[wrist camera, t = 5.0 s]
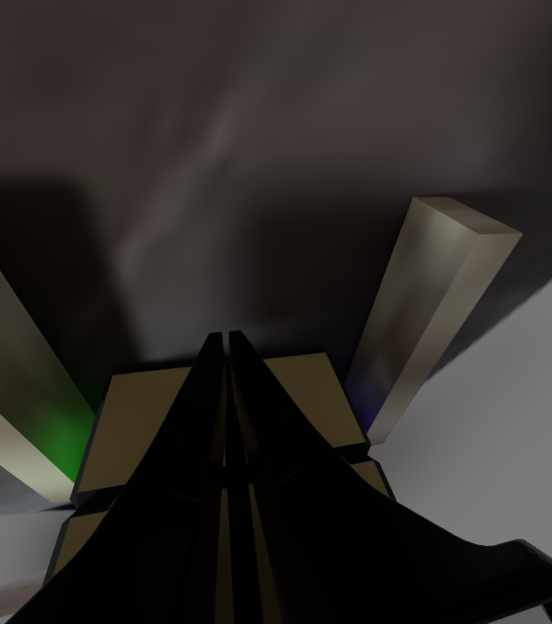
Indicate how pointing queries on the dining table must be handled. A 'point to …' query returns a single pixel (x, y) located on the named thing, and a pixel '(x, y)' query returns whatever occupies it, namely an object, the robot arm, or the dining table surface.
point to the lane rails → (360, 379)
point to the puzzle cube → (236, 475)
